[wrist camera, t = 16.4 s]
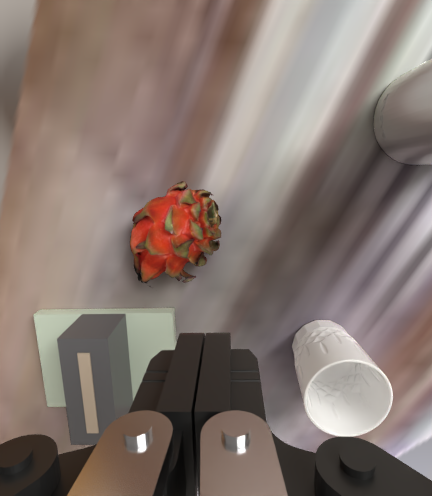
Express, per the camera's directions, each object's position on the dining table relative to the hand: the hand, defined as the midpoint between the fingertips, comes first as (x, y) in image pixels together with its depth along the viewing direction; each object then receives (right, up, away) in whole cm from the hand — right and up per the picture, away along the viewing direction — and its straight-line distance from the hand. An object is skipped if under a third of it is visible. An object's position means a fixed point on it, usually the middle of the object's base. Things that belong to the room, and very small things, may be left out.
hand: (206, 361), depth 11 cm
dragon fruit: (-4, +5, +29) cm, 30 cm away
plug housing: (-12, -10, +31) cm, 35 cm away
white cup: (+13, -8, +31) cm, 35 cm away
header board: (-12, -10, +32) cm, 36 cm away
